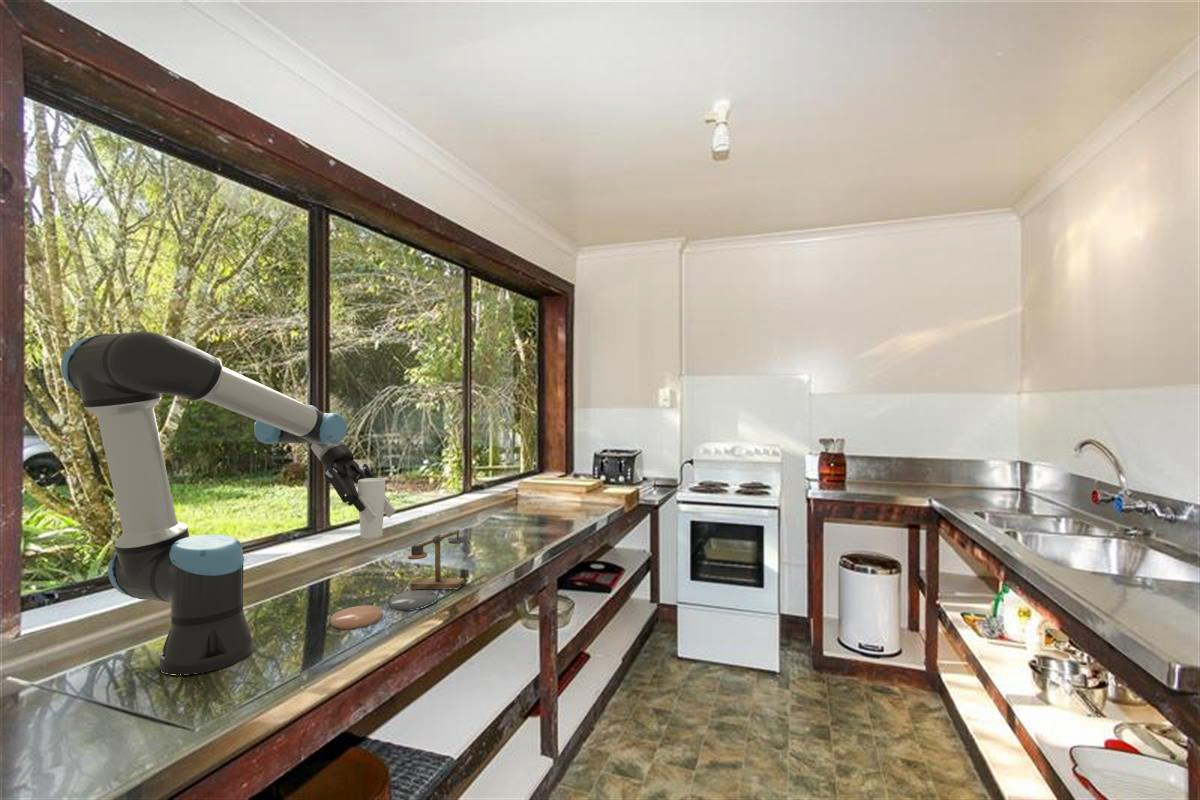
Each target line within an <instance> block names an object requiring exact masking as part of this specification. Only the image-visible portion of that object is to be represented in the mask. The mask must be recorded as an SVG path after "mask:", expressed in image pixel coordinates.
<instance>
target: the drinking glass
mask: <svg viewBox="0 0 1200 800" xmlns="http://www.w3.org/2000/svg"><path fill="white" fill-rule="evenodd" d="M385 487H386V478H384V477H383V478H382V477H377V478H366V479H360V480H358V483H357V489H356V490H357V493H358V495H359V497H363V498H364V499H365V501H366V502H367V503H368V504H369V506H370V507H371V508H372V510H373V511H374V512H375V514H376V515H377V516H376V517H375V518H374V519H373V520H372V521H371V522H370V523H368V522H367V520H366V519H365V518H364V516H363V515H362V514H361V512H359V511H358V515H359V516H358V517H359V529H360V530H359V535H360V537H361V538H362V539H365V540H366V539H368V540H369V539H378V538H380V537H382V536H383V527H384V526H383V525H384V514H385V513H384V504H385V496H386V491H385ZM359 497H358V498H359Z"/></svg>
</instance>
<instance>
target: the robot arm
mask: <svg viewBox="0 0 1200 800" xmlns="http://www.w3.org/2000/svg"><path fill="white" fill-rule="evenodd" d="M60 371H61V374H62V377H63V379H64V381H65V383H66V384H67V385H68V386H69V387H71V388H72V389H73V390H75V391H76V392H78V393H80V397H81V401H82V404H83V408H84V409H85V410H86V411H88V412H89V413H92V414H94V415H95V416H96V418H97V422H98V423H97V424H98V426H99V431H100V436H101V440H102V443H103V444H102V445H103V448H104V449H103V450H104V454H105V458H106V463H107V467H108V471H109V475H110V481H111V485H112V490H113V494H114V499H115V502H116V509H117V512H118V518H119V521H120V522H119V523H120V525H121V530H122V534H121V535H120V536H119V537H118V539H117V540H116V541H115V542H114V546H115V552H114V553H113V558H112V559H110V560H109V564H108V567H107V568H108V570H107V571H108V572H107V574H108V579H109V581H110V584H111V586H112V587H113V588H114V589H115V590H117V592H119V593H121V594H124V595H125V596H129V597H131V598H135V599H138V600H144V601H145V600H147V601H148V600H150V601H151V600H152V601H159V602H166V603H170V628H169V630H168V633H167V636H166V639H165V641H164V644H163V648H162V651H161V653H160V655H159V671H160V670H161V671H162V672H164V673H168V674H176V675H180V674H181V675H184V674H194V673H201V674H205V673H204V672H206V673H210V672H214V671H217V670H221V669H224V668H226V667H228V666H231V665H234V664H236V663H238V662H240V661H242V660H244V659H245V658H247V657H248V656H249V655H251V654H252V653H253V651H254V648H255V646H254V641H255V640H254V634H253V632H251V629H250V627H249V624H248V620H247V618H246V615H245V613H244V562H245V556H244V553H243V545H242V543H241V541H240V540H238V539H237V538H236V537H233V536H229V535H226V534H214V535H213V534H212V535H211V534H199V535H191V536H190V532H189V528H188V525H187V524H186V523H185V522H181V521H179V520H178V519H177V515H176V510H175V506H174V501H173V497H172V495H173V494H172V491H171V487H170V482H169V477H168V473H167V472H168V471H167V468H166V462H165V456H164V453H163V448H162V443H161V438H160V437H161V436H160V433H159V428H158V423H157V418H156V413H155V407H156V405H158V403H160V402H161V400H162V395H163V394H164V395H169V396H176V397H178V398H179V397H180V398H183V399H185V400H189V401H192V402H197V401H201V400H202V401H206V402H209V403H210V404H214V405H216V406H219V407H221V408H224V409H226V410H229V411H232V412H235V413H238V414H239V415H242V416H245V417H248V418H250V419H253V420H255V422H254V427H253V428H254V435H255V438H256V440H257V441H259V442H260V443H262V444H266V445H267V444H268V445H270V444H271V445H277V444H307V446H308V447H309V448H310V450H312V452H313V453H314V455H315V456H316V457H317V458H318V460H319V461H320V463H321V465H323V467H324V468H325V469H326V472H325V473H324V474H323V476H324V478H326V479H327V480H328V481H329V482H330V484H331V485H332V487H333V489H334V491H335V492H336V493H337V495H338V496H339V498H340V500H341V501H342V502H343V503H344V504H347V505H348V506H349V507H351V506H352V505H353V506H354V507H355V508H356V510H357V511H358V513H359V512H361V514H362V515H363V516H364V518H365V519H366V520H367V522H368V523H370V522H371V521H372V520H373V519H374V518H375V517H376V516H377V515H376V514H375V512H374V511H373V510H372V508H371V507H370V506H369V504H368V503H367V502H366V501H365V499H364V498H363V497H359V495H358V493H357V490H358V489H357V488H356V486H355V484H358V480H360V479H366V478H378V477H377V475H375V474H374V472H373V471H372V470H371V469H370V467H369V465H368V464H367V463H364V464H362V465H360V464H359V463H357V462H356V461H355V460H354V453H353V451H352V450H351V449H350V448H349V446H348V445H347V444H346V442H345V441H344V438H345V437H346V434H347V431H348V424H347V420H346V419H345V418H344V416H343V415H341V414H339V413H336V412H334V413H333V412H323V411H321V410H319V409H318V408H317V407H316V406H314V405H310V404H304V403H303V402H300V401H299V400H296V399H294V398H292V397H290V396H288V395H285V394H283V393H281V392H279V391H276V390H274V389H273V388H271V387H268V386H266V385H264V384H261V383H260V382H257V381H255V380H253V379H251V378H249V377H248V376H247V377H246V376H244V375H242V374H240V373H238V372H236V371H235V370H231V369H229V368H228V367H225V366H223V364H222V361H221V359H219V358H218V357H216V356H214V355H212V354H210V353H207V352H205V351H203V350H201V349H199V348H197V347H195V346H192V345H190V344H188V343H186V342H183V341H181V340H178V339H175V338H174V337H172V336H168V335H164V334H160V333H157V332H152V331H132V332H124V333H123V332H122V333H121V332H120V333H101V334H96V335H93V336H88V337H84V338H82V339H79V340H77V341H76V342H74V343H73V344H72V345H70V347H69V348H68V349H67V350H65V353H64V354H63V356H62V359H61V363H60ZM386 490H387V487H386V486H385V492H386ZM358 497H359V498H358ZM396 511H397V509H396V508H395V507H394V505H393V504H392V503H391V501H390V499H389V498H387V496H386V495H385V504H384V514H385V515H386V517H387V518H391V517H392V516H393V515H394V514H395V513H396ZM213 670H214V671H213ZM209 671H210V672H209ZM202 672H203V673H202Z"/></svg>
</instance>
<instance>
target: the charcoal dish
mask: <svg viewBox="0 0 1200 800" xmlns="http://www.w3.org/2000/svg"><path fill="white" fill-rule="evenodd" d="M435 600H436V601H437V593H436V592H434V591H433V590H432V591H431V590H410V591H404V592H401V593H399V594H396V595H394V596H392V597H391V598H390V600H389V604H390V605H389V606H390V608H391V609H393V610H396V611H402V610H408V611H411V610H410V609H416V608H421V607H424V606H426V605H429V604H431V603H432V602H434V601H435Z"/></svg>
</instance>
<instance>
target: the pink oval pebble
mask: <svg viewBox="0 0 1200 800" xmlns="http://www.w3.org/2000/svg"><path fill="white" fill-rule="evenodd" d="M383 612H384V611H383V609H382V607H381V606H377V605H366V604H365V605H356V606H352V607H347V608H344V609H341V610H338V611H336V612H335V613H334V614H332V615H331V617H330V626H332V628H335V629H339V630H340V629H341V630H349V629H350V630H352V629H359V628H362V627H363V628H364V627H367V626H370V625H373V624H375V623H377V622H378V621H381V619H382V618H383Z"/></svg>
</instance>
